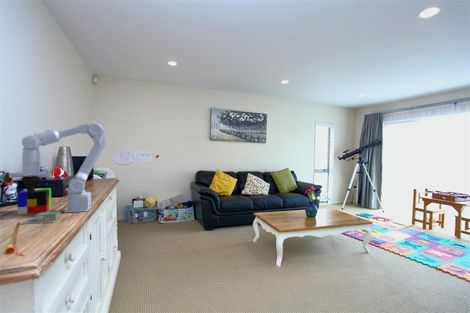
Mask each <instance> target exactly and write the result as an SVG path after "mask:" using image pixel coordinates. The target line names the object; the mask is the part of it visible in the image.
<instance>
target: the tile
mask: <svg viewBox="0 0 470 313" xmlns="http://www.w3.org/2000/svg"><path fill="white" fill-rule="evenodd" d="M60 216H61V211H60V210H57V211H47V212H40V213H36V214H35V216H34V218H35V222H36V221H51V220H56V221H57V220H59V219H60V218H61V217H60Z"/></svg>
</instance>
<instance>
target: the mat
mask: <svg viewBox="0 0 470 313" xmlns="http://www.w3.org/2000/svg"><path fill="white" fill-rule="evenodd" d="M61 217H62V215H60V218H61ZM56 221H57V220H51V221H36V222H35V217H29V218H28V219H26V220H24V221H22V222H20V223H19V224H20V225H21V226H22V225H32V224H48V223H55V222H56Z"/></svg>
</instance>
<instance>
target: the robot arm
mask: <svg viewBox="0 0 470 313" xmlns="http://www.w3.org/2000/svg"><path fill="white" fill-rule="evenodd" d="M77 134H83V135H88V136H90V137H91V139H92V142H93V145H92V147H91V149H90V151H89V153H88V154H87V156H86V157H85V159H84V161H83V163H82V164H81V166H80V167H79V169H78V171H77V172H76V174H75V175H74V177H73V178H71V179H70V180H69V182H68V189H69V190H68V191H67V209H65V210H64V212H63V213H79V212H80V213H81V212H82V213H83V212H88V211H89V210H90V209H91V208H92V193H91V192H90V191H86V190H85V189H86V188H85V187H86V181H87V180H88V177H89V175H90V173H91V171H92V170H93V168H94V166H95V164H96V163H97V161H98V159H99V157H100V155H101V154H102V152H103V150H104V148H105V146H106V143H107V141H106V136H105V129H104V128H103V126H102V125H101V124H100V123H98V122H92V123H85V124H81V125H76V126H74V127H69V128H65V129H63V130H60V131H57V130H55V129H46V130H45V131H44V132H40V133H33V135H31V134H30V135H27V136H24V137H23V139H22V140H21V145H22V146H23V147H22V154H21V155H22V158H21V159H22V161H21V162H22V164H21V165H22V169H21V170H22V171H21V172H9V173H8V178H10V179H11V178H21V180H20V181H21V182H22V183H23V185H24V186H25V189H27V192H28V194H32V193H34V191H35V189H36V188H37V185H38V183H39V182H40V180H41V178H51V177H52V176H53V175H52V174H53V173H52V172H46V171H45V172H40V165H41V164H40V155H41V154H40V146H41V147H44V146H48V145H51V144H52V145H53V144H55V143H58V142H60V141H61V139H62V138H66V137H70V136H73V135H77Z"/></svg>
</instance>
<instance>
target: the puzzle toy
mask: <svg viewBox="0 0 470 313" xmlns="http://www.w3.org/2000/svg"><path fill="white" fill-rule="evenodd" d="M51 208H52V188H51V187H48V188H47V187H46V188H45V187H44V188H35V191H34V193H32V194H28V192H27V189H26V188H25V189H23V190H21V191H18V192H17V215H28V214H30V215H31V214H39V213H40V212H46V211H47V212H49V210H51Z"/></svg>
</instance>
